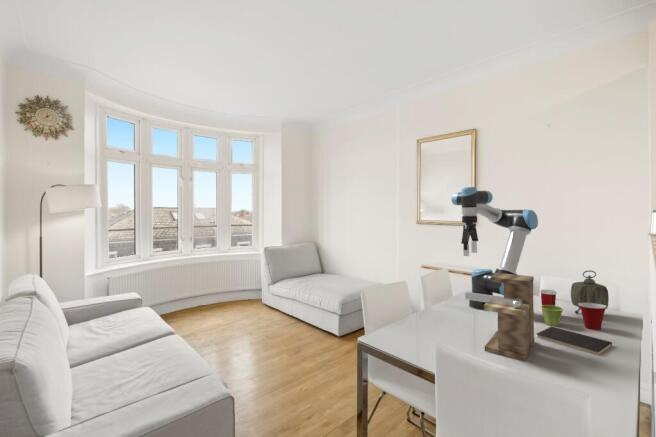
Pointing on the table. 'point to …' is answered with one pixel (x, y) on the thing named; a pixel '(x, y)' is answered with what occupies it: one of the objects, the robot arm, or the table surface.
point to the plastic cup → (592, 315)
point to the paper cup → (548, 297)
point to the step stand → (513, 318)
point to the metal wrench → (494, 299)
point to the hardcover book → (575, 340)
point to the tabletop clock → (589, 292)
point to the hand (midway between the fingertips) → (470, 254)
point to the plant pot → (552, 314)
